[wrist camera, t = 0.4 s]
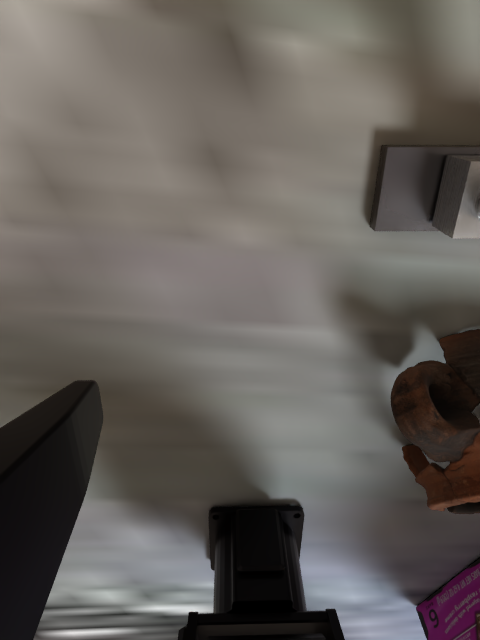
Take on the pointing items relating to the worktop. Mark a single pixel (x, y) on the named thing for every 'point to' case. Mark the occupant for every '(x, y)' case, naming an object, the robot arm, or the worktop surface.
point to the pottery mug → (443, 423)
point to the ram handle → (459, 198)
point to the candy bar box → (454, 608)
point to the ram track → (410, 185)
